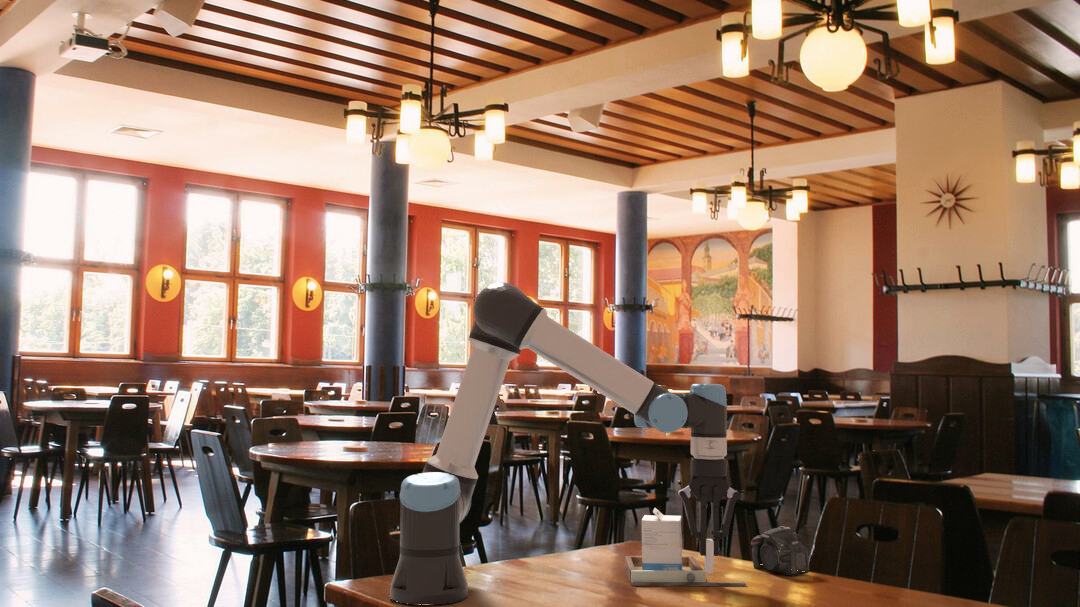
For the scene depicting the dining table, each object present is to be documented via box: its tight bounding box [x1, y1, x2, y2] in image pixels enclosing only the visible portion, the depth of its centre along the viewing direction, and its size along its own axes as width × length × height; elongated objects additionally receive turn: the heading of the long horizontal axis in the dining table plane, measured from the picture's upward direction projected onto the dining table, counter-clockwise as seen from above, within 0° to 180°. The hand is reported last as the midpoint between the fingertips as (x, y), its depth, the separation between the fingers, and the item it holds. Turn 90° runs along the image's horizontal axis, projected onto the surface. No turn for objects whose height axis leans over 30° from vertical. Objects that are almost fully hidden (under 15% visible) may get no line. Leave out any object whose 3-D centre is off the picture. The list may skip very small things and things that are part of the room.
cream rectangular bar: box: [631, 570, 707, 582], centre depth 185 cm, size 15×2×3 cm, turn 89°
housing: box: [624, 555, 747, 587], centre depth 193 cm, size 24×18×3 cm
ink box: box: [641, 507, 683, 570], centre depth 194 cm, size 9×8×13 cm
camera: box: [750, 525, 810, 576], centre depth 198 cm, size 13×10×10 cm
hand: (709, 571), depth 186 cm, fingers closed
